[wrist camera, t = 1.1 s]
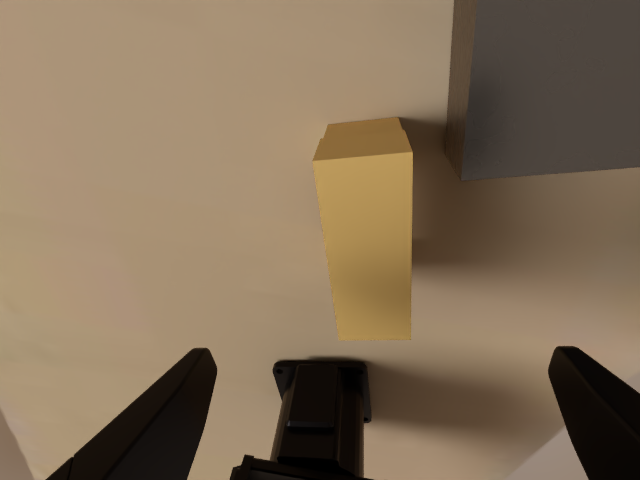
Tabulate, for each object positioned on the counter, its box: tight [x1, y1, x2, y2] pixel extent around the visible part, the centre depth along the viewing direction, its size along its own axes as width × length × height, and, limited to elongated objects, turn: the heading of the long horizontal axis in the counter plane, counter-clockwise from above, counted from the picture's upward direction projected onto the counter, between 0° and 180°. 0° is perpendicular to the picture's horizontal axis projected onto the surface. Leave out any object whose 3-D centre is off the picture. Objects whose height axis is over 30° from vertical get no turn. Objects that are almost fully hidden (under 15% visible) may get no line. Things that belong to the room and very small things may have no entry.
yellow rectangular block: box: [313, 117, 413, 340], centre depth 15 cm, size 8×3×5 cm, turn 7°
